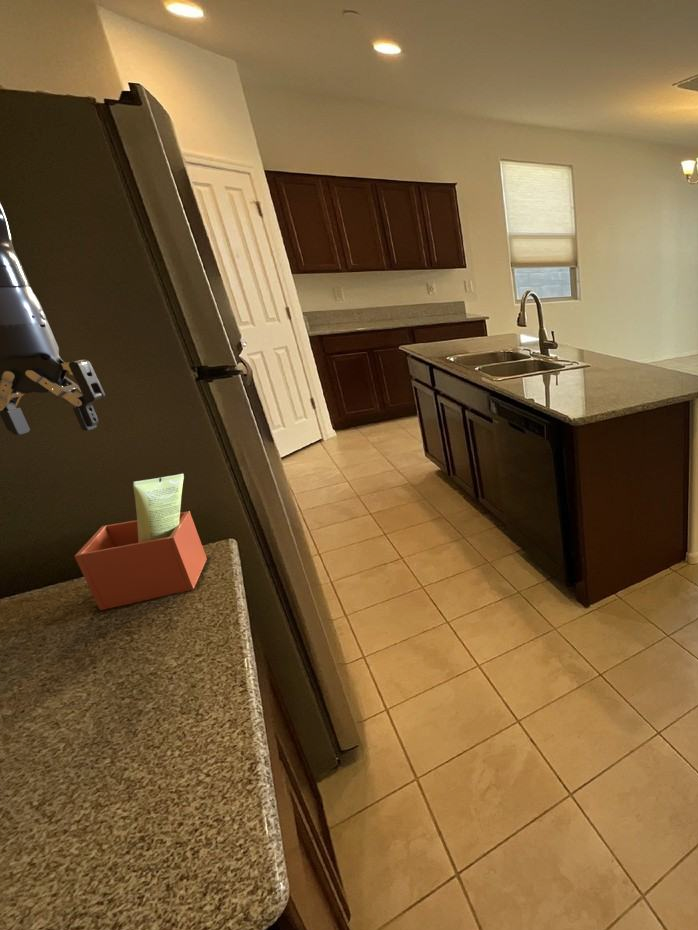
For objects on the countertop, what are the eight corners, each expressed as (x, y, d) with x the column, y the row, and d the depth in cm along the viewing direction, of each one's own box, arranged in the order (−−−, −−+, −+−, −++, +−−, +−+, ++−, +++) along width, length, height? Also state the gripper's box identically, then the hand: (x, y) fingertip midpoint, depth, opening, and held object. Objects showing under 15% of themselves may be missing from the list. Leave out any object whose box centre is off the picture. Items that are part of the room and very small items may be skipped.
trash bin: (100, 612, 87) (74, 556, 83) (124, 578, 97) (101, 526, 93) (194, 591, 92) (173, 537, 88) (207, 560, 102) (189, 510, 98)
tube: (146, 568, 95) (146, 469, 90) (182, 568, 98) (183, 472, 92) (134, 584, 91) (132, 482, 85) (172, 585, 93) (173, 485, 87)
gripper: (-83, 325, 69) (-24, 442, 75) (49, 321, 72) (95, 434, 78) (-31, 320, 75) (19, 428, 81) (87, 317, 79) (127, 421, 85)
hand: (56, 431), depth 80 cm, fingers open, 8 cm apart
